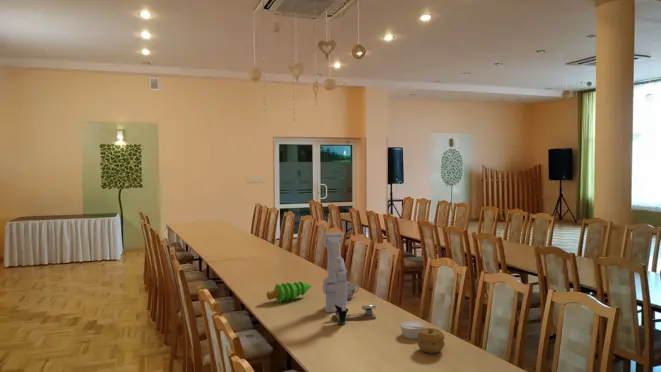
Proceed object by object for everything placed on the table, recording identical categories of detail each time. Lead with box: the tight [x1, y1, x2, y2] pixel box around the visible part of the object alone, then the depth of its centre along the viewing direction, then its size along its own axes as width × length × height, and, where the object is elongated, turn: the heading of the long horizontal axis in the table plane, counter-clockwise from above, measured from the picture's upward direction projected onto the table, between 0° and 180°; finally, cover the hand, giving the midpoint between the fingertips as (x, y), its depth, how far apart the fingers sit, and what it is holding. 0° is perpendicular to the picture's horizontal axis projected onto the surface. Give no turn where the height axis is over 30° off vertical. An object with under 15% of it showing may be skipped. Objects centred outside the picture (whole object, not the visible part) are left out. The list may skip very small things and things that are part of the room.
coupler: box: [336, 313, 347, 326], centre depth 246 cm, size 4×6×6 cm, turn 99°
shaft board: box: [331, 311, 377, 322], centre depth 255 cm, size 7×22×1 cm, turn 99°
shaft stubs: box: [332, 304, 376, 318], centre depth 255 cm, size 4×23×5 cm, turn 99°
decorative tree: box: [265, 281, 313, 304], centre depth 289 cm, size 11×12×30 cm
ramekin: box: [400, 320, 425, 340], centre depth 229 cm, size 11×11×5 cm
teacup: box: [346, 281, 360, 300], centre depth 292 cm, size 15×12×8 cm
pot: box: [416, 327, 446, 354], centre depth 210 cm, size 12×12×10 cm
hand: (341, 320), depth 246 cm, fingers closed on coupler, 4 cm apart
